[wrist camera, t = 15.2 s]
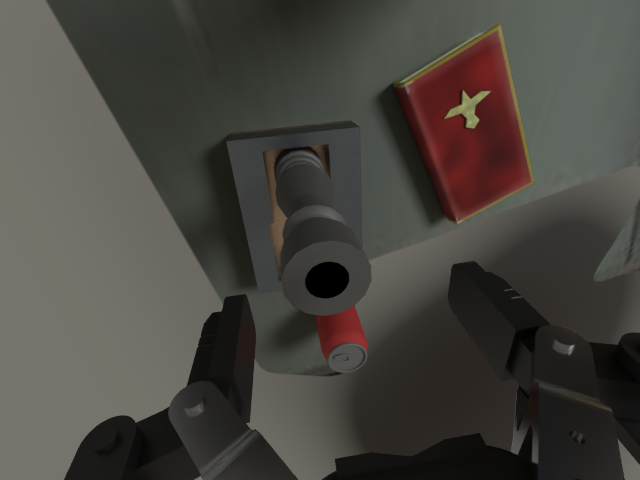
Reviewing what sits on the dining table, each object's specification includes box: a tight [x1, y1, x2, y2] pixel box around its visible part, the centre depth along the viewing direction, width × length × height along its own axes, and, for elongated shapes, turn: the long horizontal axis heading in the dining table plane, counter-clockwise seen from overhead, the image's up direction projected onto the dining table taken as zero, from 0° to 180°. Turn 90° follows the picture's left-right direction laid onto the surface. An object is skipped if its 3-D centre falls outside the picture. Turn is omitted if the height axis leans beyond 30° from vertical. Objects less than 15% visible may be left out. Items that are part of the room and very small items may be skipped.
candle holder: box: [274, 146, 371, 316], centre depth 31 cm, size 6×6×25 cm
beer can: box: [316, 306, 367, 373], centre depth 49 cm, size 7×7×12 cm
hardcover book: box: [393, 24, 534, 224], centre depth 42 cm, size 12×21×4 cm, turn 29°
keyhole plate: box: [226, 121, 362, 293], centre depth 43 cm, size 15×21×5 cm
